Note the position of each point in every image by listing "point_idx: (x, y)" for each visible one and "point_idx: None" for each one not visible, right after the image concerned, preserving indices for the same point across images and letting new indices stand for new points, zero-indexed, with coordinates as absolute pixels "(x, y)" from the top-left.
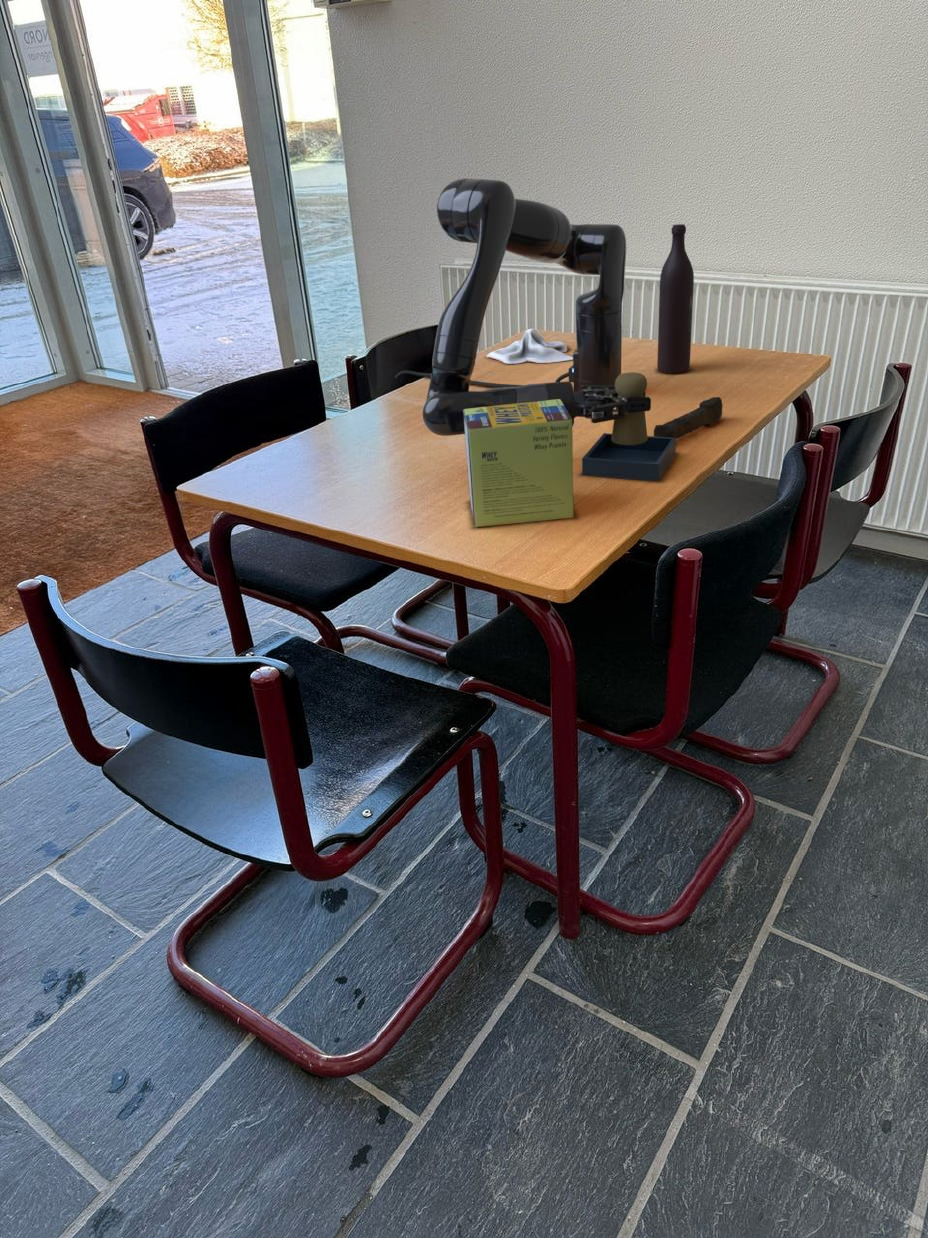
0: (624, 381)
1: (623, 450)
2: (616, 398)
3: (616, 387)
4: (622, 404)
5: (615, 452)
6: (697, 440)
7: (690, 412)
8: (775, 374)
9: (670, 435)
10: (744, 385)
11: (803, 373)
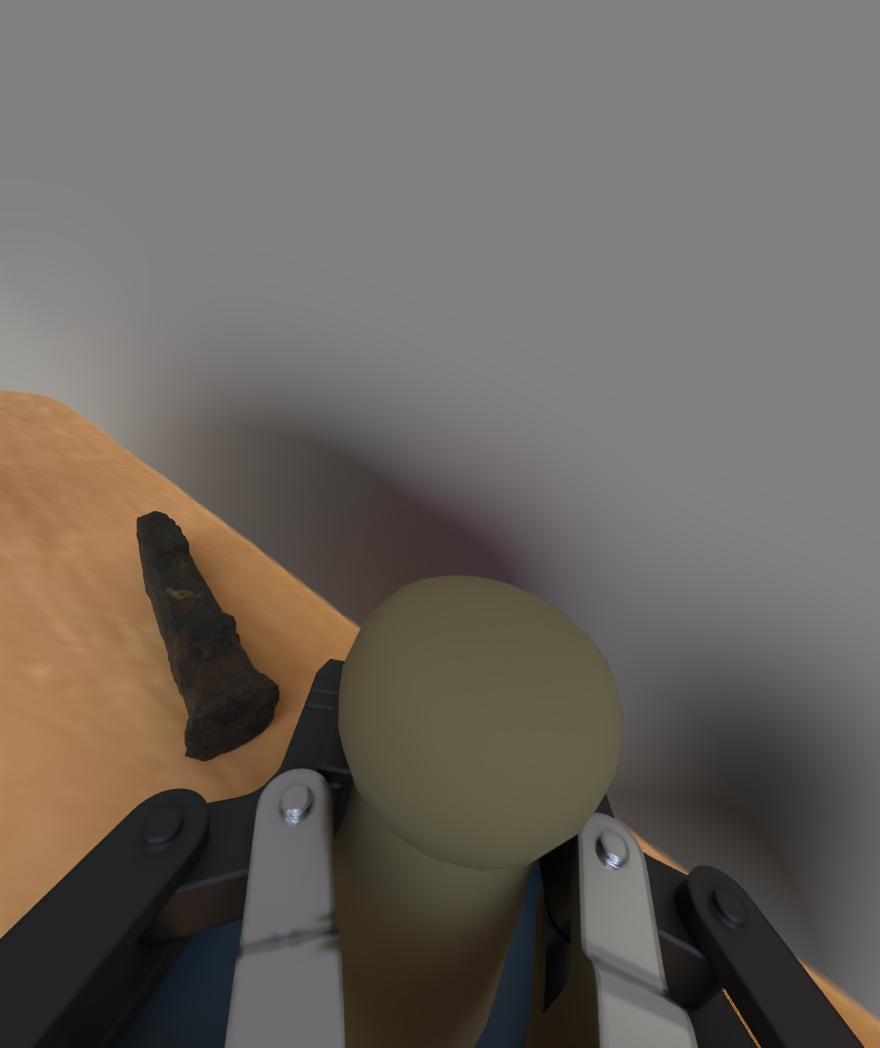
0: (617, 736)
1: (199, 963)
2: (605, 929)
3: (536, 849)
4: (757, 918)
5: (196, 1041)
6: (260, 648)
7: (170, 587)
8: (24, 430)
9: (273, 702)
10: (8, 463)
11: (74, 421)
